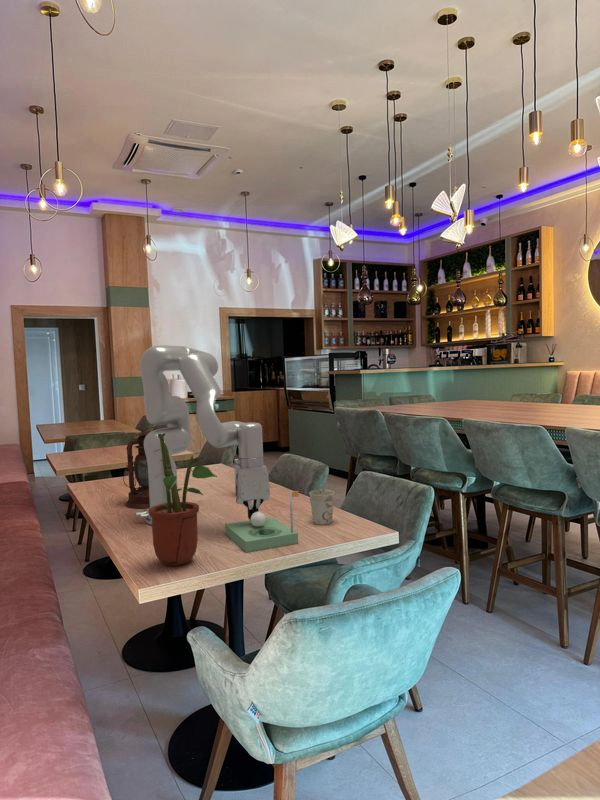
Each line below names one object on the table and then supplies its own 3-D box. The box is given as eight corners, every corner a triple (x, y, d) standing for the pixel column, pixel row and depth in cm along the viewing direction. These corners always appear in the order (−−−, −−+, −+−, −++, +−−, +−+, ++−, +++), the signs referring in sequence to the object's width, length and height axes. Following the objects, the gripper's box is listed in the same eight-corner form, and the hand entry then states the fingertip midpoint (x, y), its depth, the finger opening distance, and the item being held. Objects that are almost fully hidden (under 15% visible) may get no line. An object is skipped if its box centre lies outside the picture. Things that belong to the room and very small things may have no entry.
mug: (317, 527, 177) (317, 496, 176) (299, 518, 188) (298, 489, 188) (340, 523, 181) (339, 493, 180) (321, 514, 192) (320, 486, 191)
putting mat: (246, 552, 155) (244, 499, 154) (225, 533, 173) (223, 486, 172) (302, 542, 162) (301, 492, 161) (276, 525, 180) (275, 480, 179)
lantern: (159, 494, 230) (156, 423, 228) (184, 501, 216) (181, 425, 214) (116, 503, 216) (112, 427, 215) (140, 511, 203) (136, 430, 201)
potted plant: (155, 574, 140) (149, 437, 138) (146, 556, 154) (140, 431, 152) (222, 563, 147) (217, 432, 145) (207, 546, 161) (203, 427, 159)
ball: (248, 525, 170) (253, 529, 166) (248, 510, 170) (254, 514, 166) (261, 523, 172) (267, 528, 168) (262, 509, 172) (268, 513, 168)
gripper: (231, 466, 165) (234, 527, 166) (278, 461, 171) (280, 520, 173) (224, 463, 172) (226, 521, 173) (269, 458, 178) (271, 514, 179)
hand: (253, 520), depth 173 cm, fingers closed
